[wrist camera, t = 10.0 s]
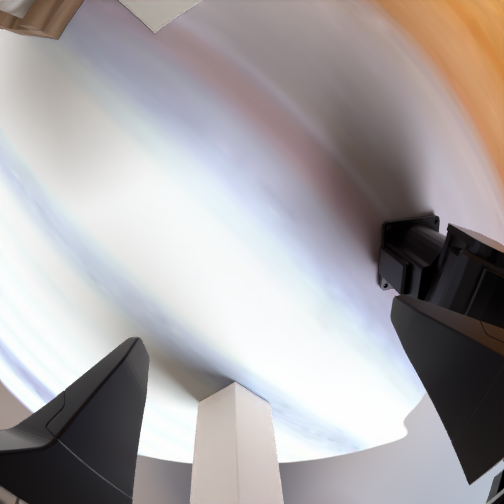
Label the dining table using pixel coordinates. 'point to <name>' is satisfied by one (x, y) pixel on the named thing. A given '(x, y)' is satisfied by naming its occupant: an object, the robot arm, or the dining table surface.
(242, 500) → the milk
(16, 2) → the white candle wooden holder
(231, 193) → the dining table surface
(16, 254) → the dining table surface
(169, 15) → the grey mat
